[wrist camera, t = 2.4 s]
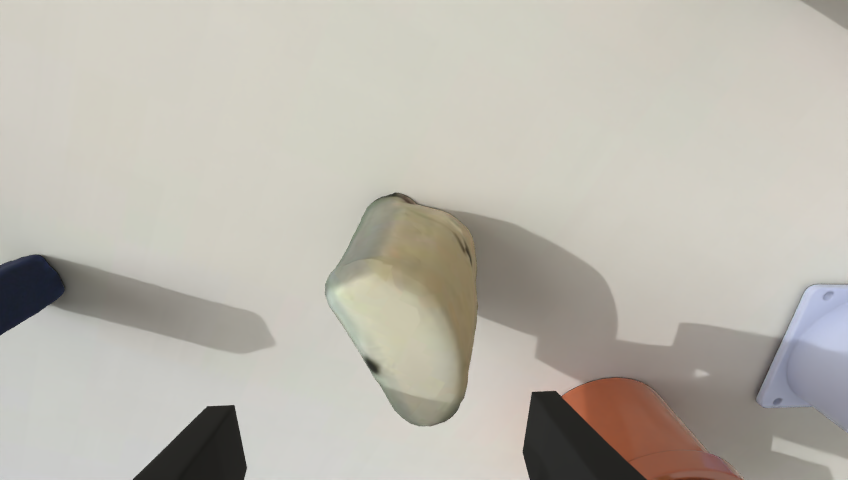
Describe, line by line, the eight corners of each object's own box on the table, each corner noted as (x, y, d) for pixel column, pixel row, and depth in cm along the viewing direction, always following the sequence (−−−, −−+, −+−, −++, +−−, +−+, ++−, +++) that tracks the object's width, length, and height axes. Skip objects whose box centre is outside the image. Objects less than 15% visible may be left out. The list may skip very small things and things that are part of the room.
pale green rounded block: (320, 258, 18) (271, 381, 10) (376, 159, 16) (364, 219, 9) (427, 310, 19) (451, 451, 12) (487, 223, 18) (556, 321, 10)
